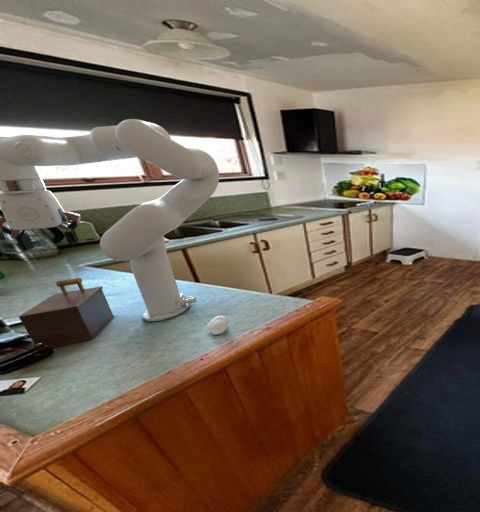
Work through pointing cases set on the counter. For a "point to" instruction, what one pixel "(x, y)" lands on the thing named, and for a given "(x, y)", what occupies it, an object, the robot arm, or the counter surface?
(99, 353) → the counter surface
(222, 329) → the dumpling
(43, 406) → the counter surface
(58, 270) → the counter surface
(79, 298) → the lid
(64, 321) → the box
